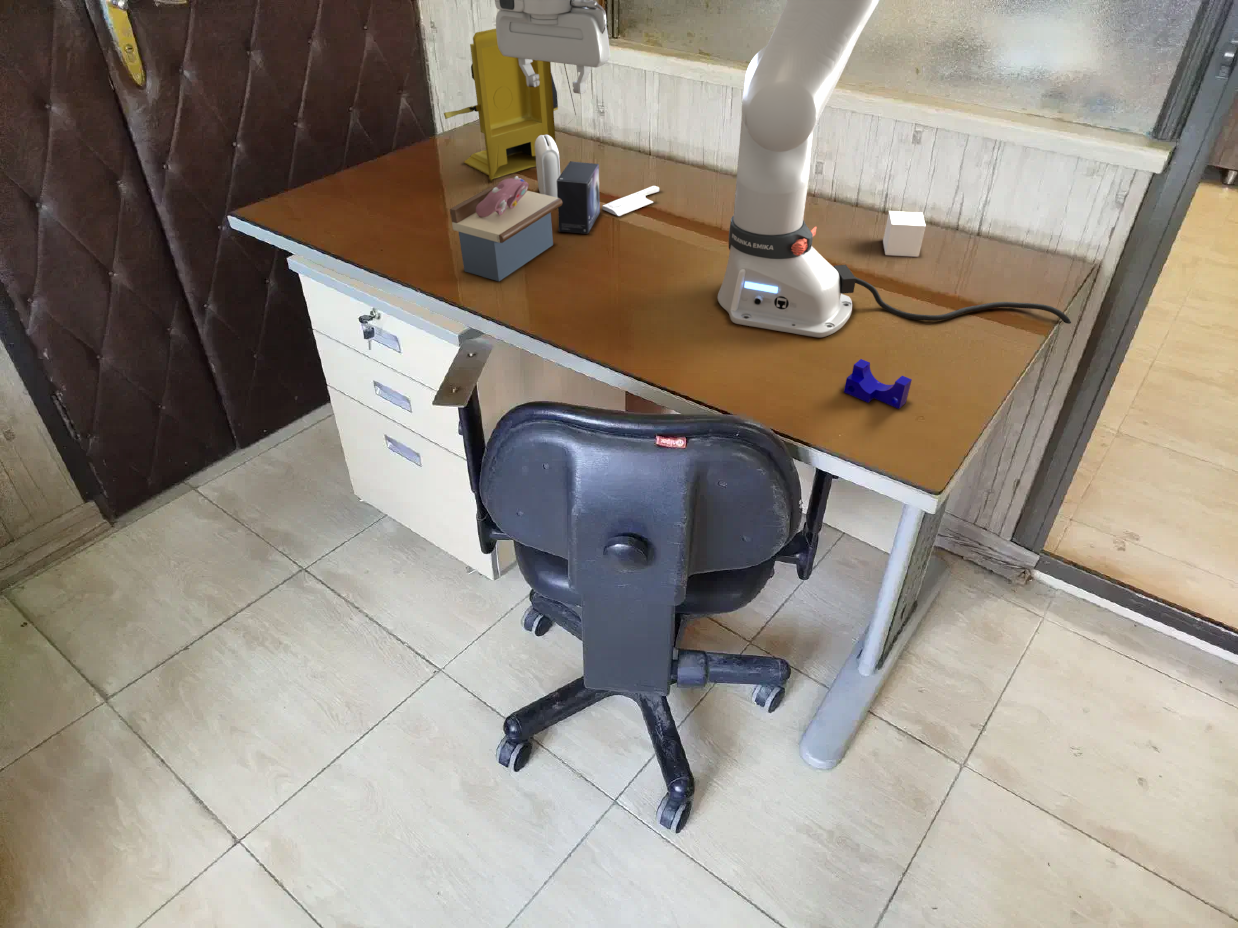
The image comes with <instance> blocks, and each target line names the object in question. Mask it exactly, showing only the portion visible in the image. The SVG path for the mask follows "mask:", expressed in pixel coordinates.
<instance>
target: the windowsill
mask: <svg viewBox="0 0 1238 928" xmlns="http://www.w3.org/2000/svg"><path fill="white" fill-rule="evenodd" d="M516 176H517V175H515V174H511V175H509V176H507V177H505V178H504V179H503V180H505V179H510V178H513V179H514V178H515V177H516ZM501 181H502V180H500V181H498V182H496V183H494V184H493V185H491V186H489V187H487V188H486V189H484V190H482V191H480V192H477V193H476V194H474V195H473V196H471V197H469V198H467V199H465V200H463V201H462V202H460V203H458V204H456V205H454V206H453V207H450V208H449V212H450V213H449V214H450V219H451V224H452V231H455V232H458V239H459V245H460V251H461V259H462V265H463V271H464V272H465V273H469V274H472V275H476V276H479V277H482V278H485V279H489V280H493V281H496V282H500V281H502V280H503V279H505V278H507V277H508V276H510V275H511V274H512V273H514V272H516V271H517V270H518V269H520V268H521V267H523V266H524V265H526V264H527V263H528V262H530V261H532V260H533V259H535V258H536V257H537V256H539V255H540V254H542V253H544V252H545V251H547V250H548V249H550V248H551V247H552V246H553V245H554V239H553V225H552V212H554V211H555V210H558V207H560V206H561V205H562V204H563V202H562V200H561V199H560V198H557V197H552V196H548V195H544V194H540V192H536V191H531V190H527V191H526V193H525V194H524V195H523V197H522V198H521V199H520V200H519V201H518V203H517V205H516V206H515V207H514V208H512V209H511V208H509V207H508V206H507V209H506V211H505V212H504V213H503V214H502V215H499V214H498V213H497V212H496V211H495V212H494V213H492V214H491V215H489V216H487V217H480V216H478V215H477V213H476V207H477V205H478V204H479V203H480V202H481V201H483V200H484V199H485V198H486V197H487V195H488V194H489V193H490V192H491V191H492V190H493V189H494V188H495V187H497V186H498V185H499V183H500V182H501Z"/></svg>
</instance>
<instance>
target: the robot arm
mask: <svg viewBox="0 0 1238 928" xmlns="http://www.w3.org/2000/svg"><path fill="white" fill-rule="evenodd" d="M879 2H880V0H786V2H785V4H784V7H783V9H782V12H781V13H780V16H779V18H778V20H777V23H776V25H775V27H774V29H773V32H772V34H771V36H770V38H769V40H768V42H767V45H765V46H764V47H762V48H761V49H760V50H759V51H758V52H757V53H756V54H755V55H754V56H753V58H751V61H750V63H749V64H748V65H747V69H746V71H745V75H744V84H743V92H742V101H741V123H740V134H739V146H738V158H737V168H736V179H735V194H734V206H733V215H732V216H731V217H730V223H729V229H728V250H729V252H728V259H727V263H726V268H725V273H724V276H723V280H722V283H721V285H720V288H719V291H718V294H717V301H718V303H719V305H720V307H722V309H724V310H725V311H726V312H727V313H728V314H729V319H730V321H731V322H732V323H734V324H736V325H743V326H747V327H748V326H749V327H754V328H758V329H765V330H771V331H778V332H783V333H790V334H794V335H795V334H796V335H801V336H805V337H813V338H825V337H827V336H830V335H833V334H834V333H837V332H838V331H839V330H841V328H843V327H844V326H845V324H847V322H848V321H849V320H850V317H851V315H852V312H853V301H852V298H851V297H850V296H848V295H846V294H854V291H855V287H856V284H857V285H860V286H862V287H863V288H865V289H867V290H868V291H869V292H870V293H871V294H872V296H873V297H874V300H875V302H876V303H877V305H878V306H880V308H882V309H884V310H885V311H887V312H889V313H891V314H894V315H897V316H899V317H901V318H905V319H908V320H916V321H926V322H936V321H945V320H949V319H952V318H955V317H957V316H960V315H963V314H967V313H972V312H978V311H983V310H989V309H997V308H1012V309H1013V308H1014V309H1027V310H1028V309H1029V310H1039V311H1040V310H1041V311H1045V312H1048V313H1051V314H1053V315H1055V316H1057V317H1058V318H1059V319H1060V320H1061V321H1062V322H1063V323H1065V324H1068V325H1069V324H1070V325H1071V324H1072V321H1071V319H1070V317H1069V316H1068V315H1066V314H1065V312H1063V311H1062V310H1060V309H1058V308H1056V307H1054V306H1051V305H1048V304H1043V303H1034V302H1032V303H1031V302H1016V301H995V302H994V301H993V302H987V303H981V304H976V305H971V306H967V307H962V308H959V309H956V310H953V311H950V312H947V313H943V314H919V313H912V312H906V311H902V310H900V309H897V308H895V307H892V306H891V305H889V304H888V303H886V302H885V301H883V299H882V298H881V295H880V293H879V291H878V290H877V289H876V287H875V286H874V285H872V284H871V283H869V282H867V281H865V280H863V279H862V278H859V277H856V276H855V275H854V274H853V272H852V271H851V269H850V268H849V266H847V264H837V265H832V264H831V263H830V262H828V260H826V259H825V258H824V257H823V256H822V254H821V253H819V251H817V250H816V248H815V247H814V246H813V239H814V237H815V236H816V233H817V226H814V227H813V228H812V229H810V228H809V227H808V226H807V224H806V221H805V220H804V216H805V210H806V204H807V203H806V201H807V195H808V187H809V181H810V180H809V179H810V173H811V160H812V159H811V158H812V149H813V140H814V139H813V137H814V130H815V128H816V127H817V124H818V122H819V119H820V118H821V115H822V113H823V112H824V110H825V108H826V106H827V105H828V104H827V103H828V102H829V100H830V98H831V97H832V94H833V92H834V90H835V88H836V87H837V84H838V82H839V80H840V78H841V76H842V74H843V72H844V70H845V67H846V65H847V64H848V61H849V59H850V57H851V55H852V52H853V50H854V48H855V46H856V44H857V41H858V40H859V38H860V36H861V34H862V32H863V30H864V28H865V26H866V24H867V23H868V21H869V19H870V18H871V16H872V14H873V12H874V11H875V9H876V8H877V6H878V4H879ZM494 5H495V8H496V9H497V10H498V11H497V13H496V16H495V29H496V34H497V43H498V48H499V50H500V52H501V53H502V55H503V56H507V57H515V58H518V60H519V66H520V67H521V69H522V71H523V73H524V74H525V76H526V82H527V86H529V87H536V86H539V83H540V82H539V74H535V72H534V70H533V68H532V66H531V64H530V63H531V62H533V60H539V61H547V62H550V63H557V64H563V65H564V64H565V65H572V66H576V72H577V73H579V75H578V78H577V79H576V80H575V81H572V92H573V93H574V94H579V95H583V94H585V93H586V91H587V82H586V81H587V80H588V78H589V76H590V73H591V71H592V68H599V67H601V66H604V65H606V64H607V63H608V61H609V60H610V57H611V49H610V40H609V33H608V27H607V13H606V10H605V9H604V8H603V6H602V5H600V4H599V3H598V1H597V0H494Z"/></svg>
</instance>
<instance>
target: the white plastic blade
mask: <svg viewBox="0 0 1238 928" xmlns="http://www.w3.org/2000/svg"><path fill="white" fill-rule="evenodd" d="M659 192H660V187H659V186H658V185H657V186H656V185H652V186H649V187H647V188H644V189H641V190H639V191H636V192H634V193H631V194H628V195H625V196H623V197H620V198H617V199H615V200H613V201H610V202H608V203H605V204H602V205H601V210H603V211H606V212H608V213H610V214H612V215H615V216H617V217H621V216H623V215H625V214H628V213H631V212H634V211H635V210H638V209H640V208H642V207H646V206H648V205H650V204H651V205H652V204H653V203H654V201H653V200H651V199H649V198H647V197H646V196H648V195H652V194H655V193H659Z"/></svg>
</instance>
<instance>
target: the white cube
mask: <svg viewBox="0 0 1238 928" xmlns="http://www.w3.org/2000/svg"><path fill="white" fill-rule="evenodd" d="M926 228H927V225H926V222H925V217H924V213H923V212H921V211H920V212H918V211H902V210H901V211H898V210H888V214H887V219H886V224H885V229H884V233H883V238H882V244H883V249H884V254H885V256H898V257H917V258H919V257H920V254H921V249H922V245H923V240H924V236H925V233H926Z"/></svg>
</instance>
